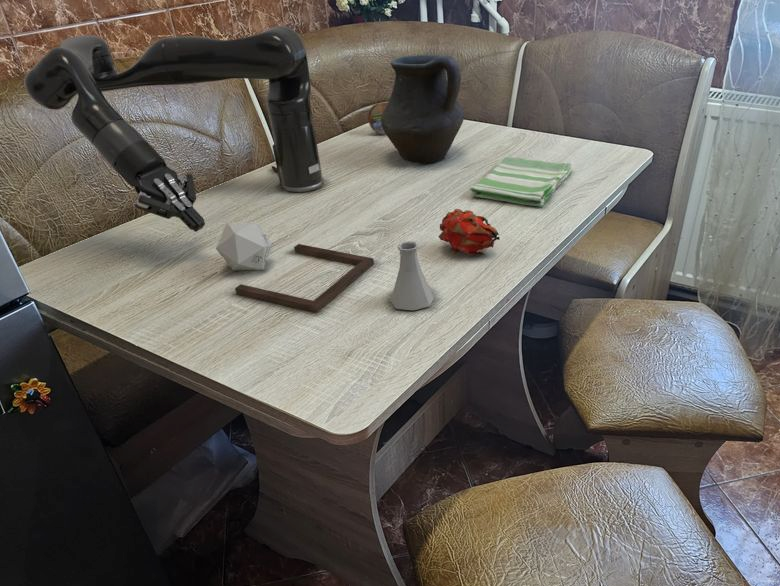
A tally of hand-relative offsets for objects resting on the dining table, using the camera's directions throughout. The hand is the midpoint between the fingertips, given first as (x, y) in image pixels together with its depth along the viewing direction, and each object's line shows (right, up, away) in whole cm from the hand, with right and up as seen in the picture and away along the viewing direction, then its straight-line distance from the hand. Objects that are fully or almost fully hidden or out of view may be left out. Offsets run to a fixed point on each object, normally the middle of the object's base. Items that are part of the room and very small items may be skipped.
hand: (200, 227), depth 115 cm
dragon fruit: (+49, -4, +3) cm, 49 cm away
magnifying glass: (+28, +40, +66) cm, 82 cm away
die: (+9, -7, 0) cm, 11 cm away
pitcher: (+39, +27, +46) cm, 66 cm away
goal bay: (+20, -10, -4) cm, 22 cm away
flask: (+40, -14, -11) cm, 44 cm away
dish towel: (+61, +15, +30) cm, 70 cm away
